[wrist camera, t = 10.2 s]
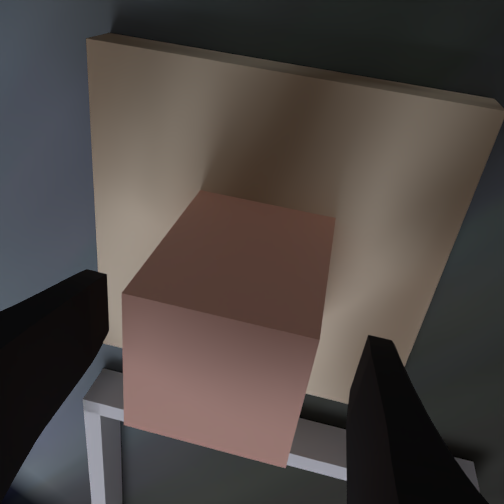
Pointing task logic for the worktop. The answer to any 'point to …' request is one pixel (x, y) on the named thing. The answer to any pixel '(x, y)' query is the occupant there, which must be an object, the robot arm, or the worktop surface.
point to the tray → (112, 412)
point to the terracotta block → (227, 326)
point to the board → (288, 175)
